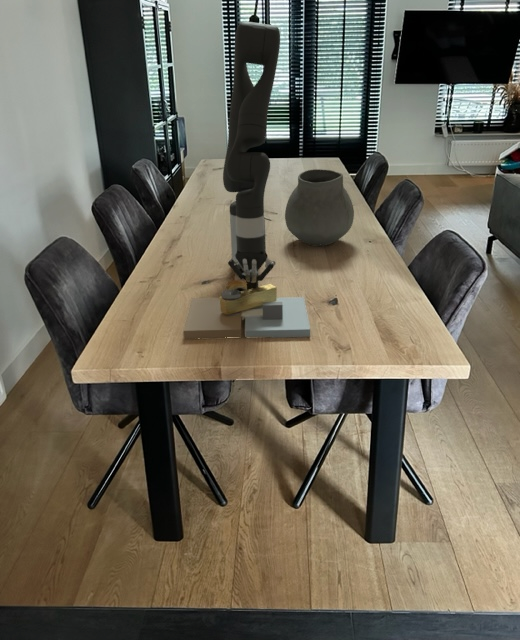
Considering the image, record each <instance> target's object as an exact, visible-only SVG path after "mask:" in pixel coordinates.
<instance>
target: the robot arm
mask: <svg viewBox="0 0 520 640" xmlns="http://www.w3.org/2000/svg"><path fill="white" fill-rule="evenodd" d="M234 37H235V38H234V50H233V51H234V55H233V59H234V60H233V82H232V83H233V84H232V93H231V100H230V108H229V109H230V110H229V117H228V122H229V123H228V137H227V147H226V155H225V159H224V166H223V172H222V180H223V181H222V183H223V187H224V189H225V190H226V191H227V192H228V193H236V195H235V200H234V201H232V203H230V205H229V221H230V223H229V224H230V226H229V227H230V244H231V245H230V246H231V247H230V249H231V258H230V259H229V261H228V262H227V264H228V266H229V267H230V269H232V271H233V272H234V273H235V274H236V276H237V277H238V279H239V280H243V281H245V282H246V284H247V290H248V289H252V288H256V287H259V282H261V281H263V280H264V279H265V278H266V276H268V275H269V273H270V272H271V271H272V270H273V268H274V267H275V265H276V261H275V260H271V259H269V257H268V254H267V249H266V221H265V208H264V207H265V206H264V203H265V201H264V199H265V191H266V185H267V182H268V178H269V174H270V170H271V160H270V158H269V157H268V155H267V154H266V153H265V152H261V151H260V152H259V151H258V152H257V151H255V152H254V151H253V152H252V151H248V150H249V149H251V148H255V147H259V146H261V145H263V144H264V143H265V141H266V134H267V124H268V123H267V122H268V113H269V106H270V99H271V96H272V92H273V87H274V82H275V78H276V73H277V66H278V60H279V55H280V48H281V47H280V46H281V32H280V29H279V27H278V26H277V25H273V24H266V23H262V22H261V23H260V22H253V21H241V22H240V23H239V24H238V26H237V27H236V32H235V36H234ZM247 64H252V65H258V66H259V65H261V66H263V71H262V73H261V76H260V77H259V79H258V81H257V82H256V84H255V85H254V84H253V81H252V80H251V77H250V75H249V74H250V73H249V70H248V65H247ZM264 263H265V265H264ZM263 265H264V267H265V269H264V270H262V272H261V273H260V269H261V268H262V266H263Z"/></svg>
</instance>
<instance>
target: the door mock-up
mask: <svg viewBox="0 0 520 640" xmlns="http://www.w3.org/2000/svg"><path fill="white" fill-rule="evenodd" d="M243 318H244V319H245V320H244V338H245V337H272V338H303V337H304V338H306V337H309V338H310V337H311V326H310V321H309V320H310V319H309V315H308V311H307V306H306V300H305V297H304V296H293V297H292V296H291V297H289V296H288V297H277V301H275V302H263V305H261V306H257V307H253V308H250V309H246V310H243V311H239V312H236V313H232V314H229V315H225V314H224V313H223V312H221V308H220V297H191V300H190V303H189V307H188V312H187V315H186V319H185V322H184V327H183V340H184V339H185V340H203V339H202V338H225V337H226V338H227V337H241V338H242V329H241V327H242V325H243ZM242 328H243V327H242ZM198 338H200V339H198Z"/></svg>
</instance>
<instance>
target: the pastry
mask: <svg viewBox="0 0 520 640" xmlns="http://www.w3.org/2000/svg"><path fill="white" fill-rule="evenodd" d="M229 289H235V290H239V291H240V292H241V291H244V290H247V282H246V281H244V280H241V279H232V280H230V281H228V282H227V285H226V288H225V290H229Z"/></svg>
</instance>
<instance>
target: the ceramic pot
mask: <svg viewBox="0 0 520 640" xmlns="http://www.w3.org/2000/svg"><path fill="white" fill-rule="evenodd" d="M354 217H355V210H354V205H353V202H352V199H351V197H350V195H349V193H348V191H347V189H345V187H344V173H341V172H339V171H335V170H331V169H323V168H322V169H321V168H320V169H319V168H318V169H317V168H313V169H308V170H305V171H302V172H301V173H299V175H297V185H296V187H294V189H293V190H292V192H291V194H290V196H289V197H288V200H287V203H286V207H285V213H284V221H285V225H286V228H287V230H288V231H289V232H290V233H291V234H292V235H293V237H295V238H296V239H298V240H299V241H301V242H303V243H304V244H306V245H309V246H313V247H317V246H318V247H320V246H321V247H322V246H327V245H331V244H333V243H335V242H337V241H339V240H340V239H342V238H343V237H344V236H345V235H346V234H347V233H349V232H350V230H351V228H352V226H353V223H354V219H355V218H354Z"/></svg>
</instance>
